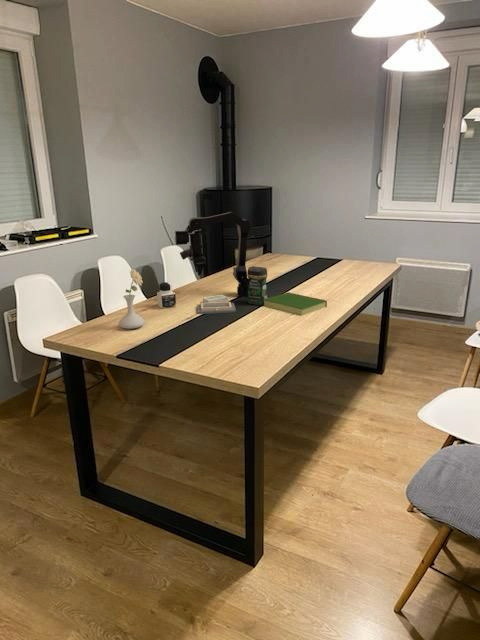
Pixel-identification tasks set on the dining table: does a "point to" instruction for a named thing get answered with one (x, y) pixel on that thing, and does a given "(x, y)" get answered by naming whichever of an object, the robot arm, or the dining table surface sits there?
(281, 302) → the hardcover book
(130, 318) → the flower in vase
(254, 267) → the coffee jar
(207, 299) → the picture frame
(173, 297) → the medicine bottle
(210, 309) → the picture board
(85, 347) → the dining table surface
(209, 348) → the dining table surface
